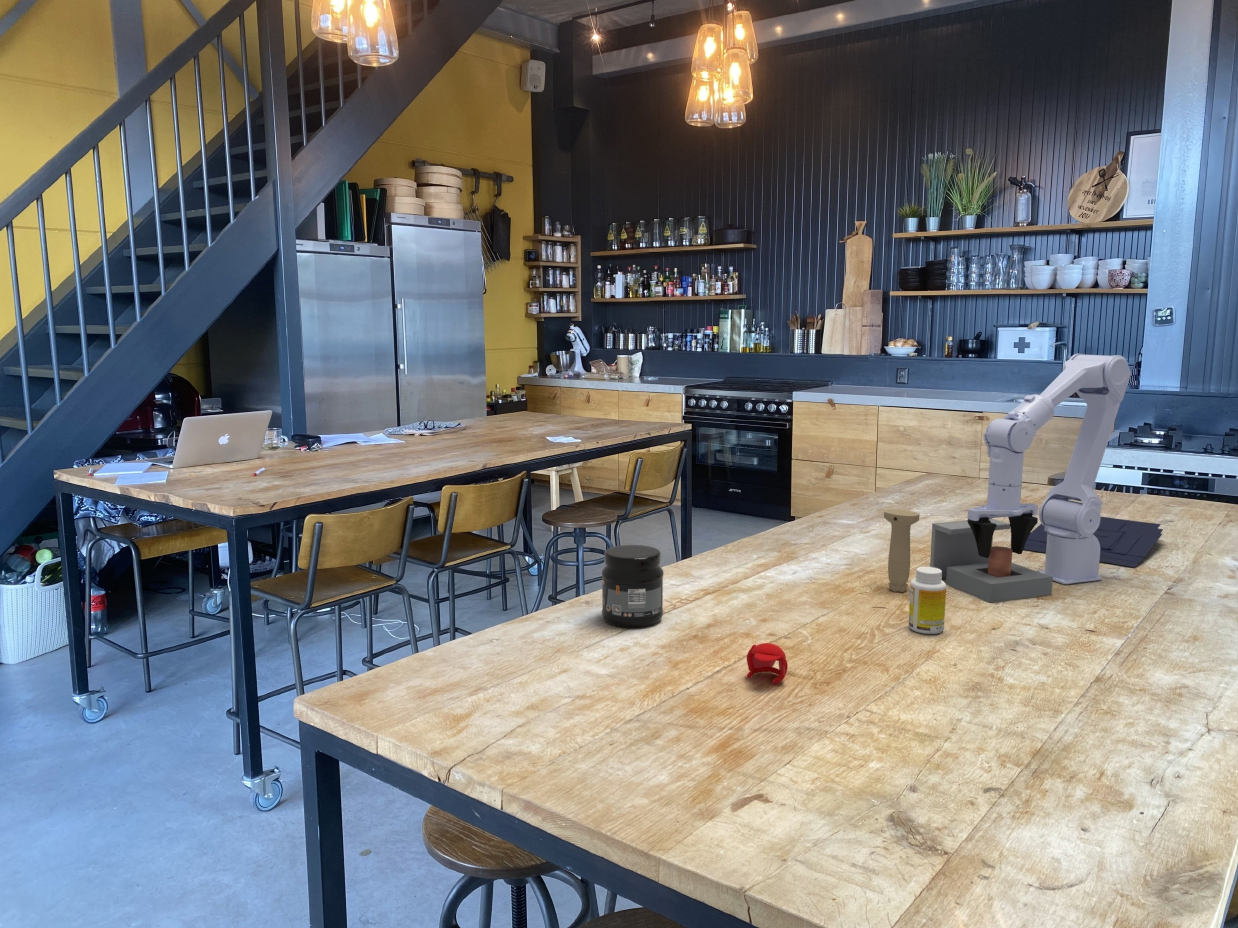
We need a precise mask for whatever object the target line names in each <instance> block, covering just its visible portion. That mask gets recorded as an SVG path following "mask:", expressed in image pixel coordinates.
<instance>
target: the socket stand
mask: <svg viewBox="0 0 1238 928" xmlns="http://www.w3.org/2000/svg"><path fill="white" fill-rule="evenodd" d="M989 520H990V521H991V523H994V524H997V526H996V528H995V531H1003V530H1011V528H1010V522H1006V521H1002V520H998V519H996V518H990V519H989ZM931 525H932V526H931V538H930V539H931V543H930V556H929V557H930V561H929V567H934V568H938V569H940V570H941V571H942V579H946V580H945V584H946V586H949V587H951V588H953V589H956V590H958V591H961V592H963V593H965V594H968V595H970V596H972V597H975V598H978V599H979V600H982V601H985V602H987V603H989V604H990V603H991V604H992V603H1000V602H1006V601H1007V602H1008V601H1015V600H1023V599H1032V598H1037V597H1046V596H1047V597H1048V596H1052V594H1053V593H1052V591H1053V577H1052V576H1049V575H1046V574H1043V573H1040V572H1037V571H1038V570H1034V569H1032V568H1029V567H1025V566H1023V565H1020V564H1017V563H1014V562H1012V564H1011V576H1007V577H998V578H997V577H995V576H992V575H989V574H988V562H989V558H984V557H981V556H979V554H978V549H977V544H976V540H975V537H974V534H973V532H972V530H971V528H970V526H969V524H968V519H967V520H965V519H964V520H955V521H944V522H935V523H934V522H932V524H931ZM993 539H994V536H993V537H992V542H991V547H993Z"/></svg>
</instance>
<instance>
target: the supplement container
mask: <svg viewBox="0 0 1238 928" xmlns="http://www.w3.org/2000/svg"><path fill="white" fill-rule="evenodd" d="M661 554H662V553H661V551H660V549H658V548H656V547H653V546H649V545H643V544H642V545H641V544H622V545H615V546H612V547H608V548H607V549H606V550H605V551H604V555H603V556H604V564H605V566H603V568H602V570H601V574H600V575H601V579H602V580H601V582H602V583H601V586H602V589H601V591H602V593H601V594H602V596H601V597H602V601H601V602H602V606H601V607H602V609H601V616H602V618H603V620H605V621H606V622H607V623H608V624H611V625H612V626H616V627H620V628H626V629H627V628H628V629H629V628H630V629H636V628H646V627H650V626H652V625H655V624H657V623H659V622H660V620H661V619H662V618H663V616H664V615H663V614H664V609H663V608H664V606H663V603H664V601H663V598H664V597H663V596H664V595H663V591H664V590H663V588H664V586H663V585H664V581H663V580H664V576H665V575H664V569H663V568H662V567H661V565H660V564H661V560H662V558H661V557H662V556H661Z"/></svg>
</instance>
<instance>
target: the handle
mask: <svg viewBox="0 0 1238 928" xmlns="http://www.w3.org/2000/svg"><path fill="white" fill-rule="evenodd" d="M883 518H884V520H886V521H887V522H889V523H890V524H891V525H890V526H891V530H890V533H891V534H890V543H889V552H888V561H887V572H888V573H887V574H888V575H887V576H888V581H889V582H888V588H889V590H890V591H892V592H895V593H896V592H898V593H904V592H906V591H907V590H908V584H909V583H908V582H909V577H910V571H911V526H912V525H913V524H916V523H918V522H919V521H920V513H919V512H916V511H912V510H905V509H898V508H897V509H895V508H891V509H885V510H883Z"/></svg>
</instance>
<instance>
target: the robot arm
mask: <svg viewBox="0 0 1238 928" xmlns="http://www.w3.org/2000/svg"><path fill="white" fill-rule="evenodd" d="M1131 375H1132V372H1131V369H1130V366H1129V363H1128V361H1127V359H1126V358H1125V357H1124V356H1122V355H1119V354H1116V355H1115V354H1114V355H1105V354H1104V355H1098V354H1084V353H1075V354H1073V355H1071V357H1070V358H1069V359H1068V360H1066V361H1064V363H1063V367H1062V372H1060V374H1059V375H1058V376H1057V377H1056V378H1055V379H1054V380H1053V381H1052V382H1051V383H1050V384H1049V385H1048V386H1047V387H1046V388H1045V389H1044V390H1043V391H1042V392H1041V393H1040V394H1037V393H1036V394H1031V395H1030V394H1027V395H1026V396H1025V397H1024V398H1023V400H1022V401H1021V403H1019V404H1018V405H1017V406H1016V407H1015V408H1014V409H1012V410H1010V411H1009V412H1007V414H1006V415H1005V416H1004V417H1003V418H996V419H994V420H993V421H991V422H990V423H989V424H988V425H987V427H986V429H985V433H983V441H984V443H985V446H986V449H987V456H988V458H989V466H988V481H987V482H988V484H987V498H986V499H987V501H986V505H985V504H984V505H981V506H980V505H979V506H977V507H972V508H968V509H967V517H966V518H967V520H968V524H969V526H970V528H971V530H972V532H973V534H974V537H975V540H976V544H977V549H978V554H979V556H981V557H984V558H989V556H990V551H991V542H992V543H993V541H992V537H993V538H994V532H995V531H996V530H995V528H996V526H997V524H994V523H991V521H990V520H989V519H990V518H992V519H998V518H999V519H1000V518H1008V523H1009V524H1010V548H1011V549H1012V553H1013V554H1017V555H1022V554H1023V551H1024V550H1025V549H1024V546H1025V543H1026V541H1027V539H1028V536H1029V534H1030V533H1031V532H1032V531H1033V530H1034V529H1035V528H1036V527H1035V526H1036V525H1038V523H1039V522H1040V524H1041V523H1042V525H1043V526H1045V529H1044V531H1047V532H1048V533H1047V546H1046V553H1045V561H1044V569H1043V570H1036V571H1037V572H1040V573H1043V574H1046V575H1049V576H1052V577H1053V581H1054V582H1056V583H1059V584H1062V585H1069V584H1077V583H1085V582H1086V583H1087V582H1095V581H1101V580H1102V577H1101V576H1099V569H1100V561H1099V559H1100V544H1099V541H1098V539H1097V538H1096V537H1095V536H1094V535H1093V533H1094V532H1095V531H1096V530H1097V528H1098V527H1099V524H1100V516H1101V509H1102V506H1103V501H1102V499H1101V498H1100V497H1099V495H1097V493H1096V492H1095V490H1094V486H1095V484H1096V483H1095V482H1096V480H1097V477H1098V473H1099V471H1100V467H1101V465H1102V462H1103V458H1104V455H1105V451H1106V449H1107V446H1108V443H1109V440H1110V436H1111V433H1112V430H1113V427H1114V425H1115V420H1116V418H1117V414H1118V412H1119V409H1120V405H1121V402H1122V401H1123V399H1124V397H1125V394H1126V391H1127V388H1128V384H1129V382H1130V379H1131ZM1075 393H1076V394H1077V395H1078V397H1079V398H1080V399H1082V400H1084V402H1085V403H1086V409H1085V413H1084V416H1083V419H1082V422H1081V425H1080V428H1079V432H1078V435H1077V438H1076V441H1075V444H1074V447H1073V450H1072V453H1071V456H1070V459H1069V463H1068V465H1067V469H1066V472H1065V474H1064V475H1065V476H1064V479H1063V480H1062V482H1061V483H1058V484H1056V485H1055V486H1053V487H1050V488H1049V491H1048V493H1047V495H1046V498H1045V499H1044V500H1043V501H1042V503H1041V505H1040V506H1039V505H1038V504H1035V503H1030V502H1029V503H1021V499H1022V485H1023V469H1024V457H1025V456H1024V454H1025V451H1026V450H1028V449H1030V448H1031V446H1032V443H1033V439H1034V438H1035V437H1036V434H1037V432H1038V431H1039V430H1041V428H1043V426H1045V425H1046V424H1047V423H1048V422H1049V421H1051V419H1053V418H1054V415H1055V408H1056V407H1057V406H1058V405H1060V404H1062V403H1063V402H1064V401H1065V400H1066V399H1068V398H1070V397H1071V396H1072V395H1073V394H1075ZM1036 516H1038V517H1039V518H1038V517H1036ZM1038 521H1039V522H1038ZM1053 581H1052V582H1053Z"/></svg>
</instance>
